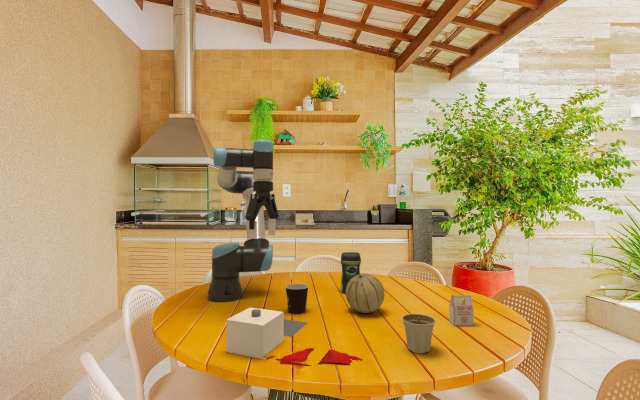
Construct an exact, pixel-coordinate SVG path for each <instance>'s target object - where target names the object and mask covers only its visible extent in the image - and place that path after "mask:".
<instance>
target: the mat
mask: <svg viewBox="0 0 640 400" xmlns="http://www.w3.org/2000/svg"><path fill="white" fill-rule="evenodd" d="M307 324H308V322H307V321H306V322H305V321H300V320H293V319H286V318H284V337H290V338H292V337H294V335H295V334H297V333H299V331H300V330H301V329H303V328H304V327H305V326H306V325H307Z"/></svg>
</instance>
